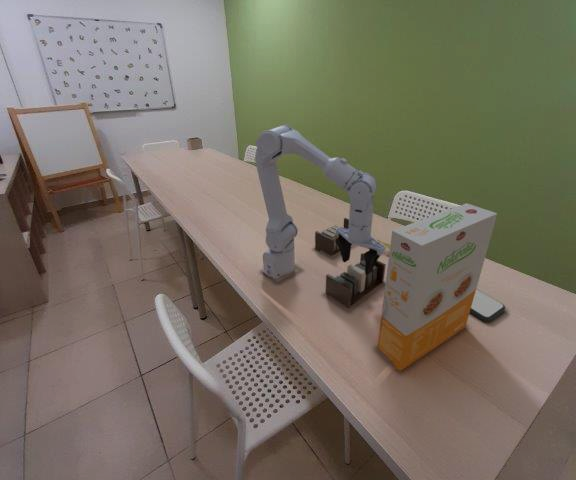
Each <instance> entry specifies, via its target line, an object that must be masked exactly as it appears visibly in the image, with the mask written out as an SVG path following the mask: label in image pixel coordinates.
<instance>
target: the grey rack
mask: <svg viewBox="0 0 576 480" xmlns="http://www.w3.org/2000/svg"><path fill="white" fill-rule="evenodd" d="M359 259H360V260H359V263H355V264H353V265H354V266H356V267H358V268H360V269H362V270H364V271H365V258H364V253H363V252H362V253H360V257H359ZM386 266H387V264H386V263H383V262H381V261H380V260H379V259H378V260H377V261H376V263H375V265H374V267H373V270H372V272H371V273H370V274H368V275H367V274H366V278H365V289H364V291H362V292H361V293H360V292H358V285H359V280H358V279H356V278H354V277H353V276H351V275H349V274H347V271H346V272H345V271H343V272H341V273H340V274H339V275H337V276H335V277H334V276H332V275H331V274H329V273H327V274H326V275H325V294H326V295H327V296H328V297H331V298H332V299H333V300H335V301H337V302H338V303H339V304H341V305H342V306H343V307H346V308H347V309H350V307H352V306H353V305H355V304H356V303H358V302H359V301H360V300H362V299H363V298H364V297H366V296H367V295H368V294H370V293H371V292H372V291H374V290H375V289H377V288H378V287H379V286H381V284H383V283H384V282H385V274H386V273H385V272H386Z"/></svg>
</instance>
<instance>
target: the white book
mask: <svg viewBox="0 0 576 480" xmlns="http://www.w3.org/2000/svg"><path fill="white" fill-rule="evenodd" d="M354 265H355V264H353V263H350V264H349V265H347V266H346V268H347V269H346V273H347V274H349V275H351V276H353V277H354V278H356V279H358V280H359V285H358V292H360V293H361V292H362V291H364V289H365V278H366V274H365V271H364V270H362V269H360V268H358V267H356V266H354Z"/></svg>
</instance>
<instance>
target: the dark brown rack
mask: <svg viewBox="0 0 576 480" xmlns="http://www.w3.org/2000/svg"><path fill="white" fill-rule="evenodd" d="M339 227H340V226H338V225H336V224H335V225H331V227H328V228H326V229H323V230H322V231H321V232H320V231H318V230H316V231H315V233H314V234H315V235H314V250H315V251H317V252H323V253H325V254H326V255H329V256H330V257H333V256H335V255H337V254H339V253H341V252H340V250H339V247H338V246H337V244H336V242H335V240H336V239H337V238H338V237H339V236H337V235H335V232H336V229H337V228H339ZM342 228H346V229H348V228H349V218H347V217H344V218H343V227H342ZM353 245H354V244H352V245H351V246H353Z"/></svg>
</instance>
